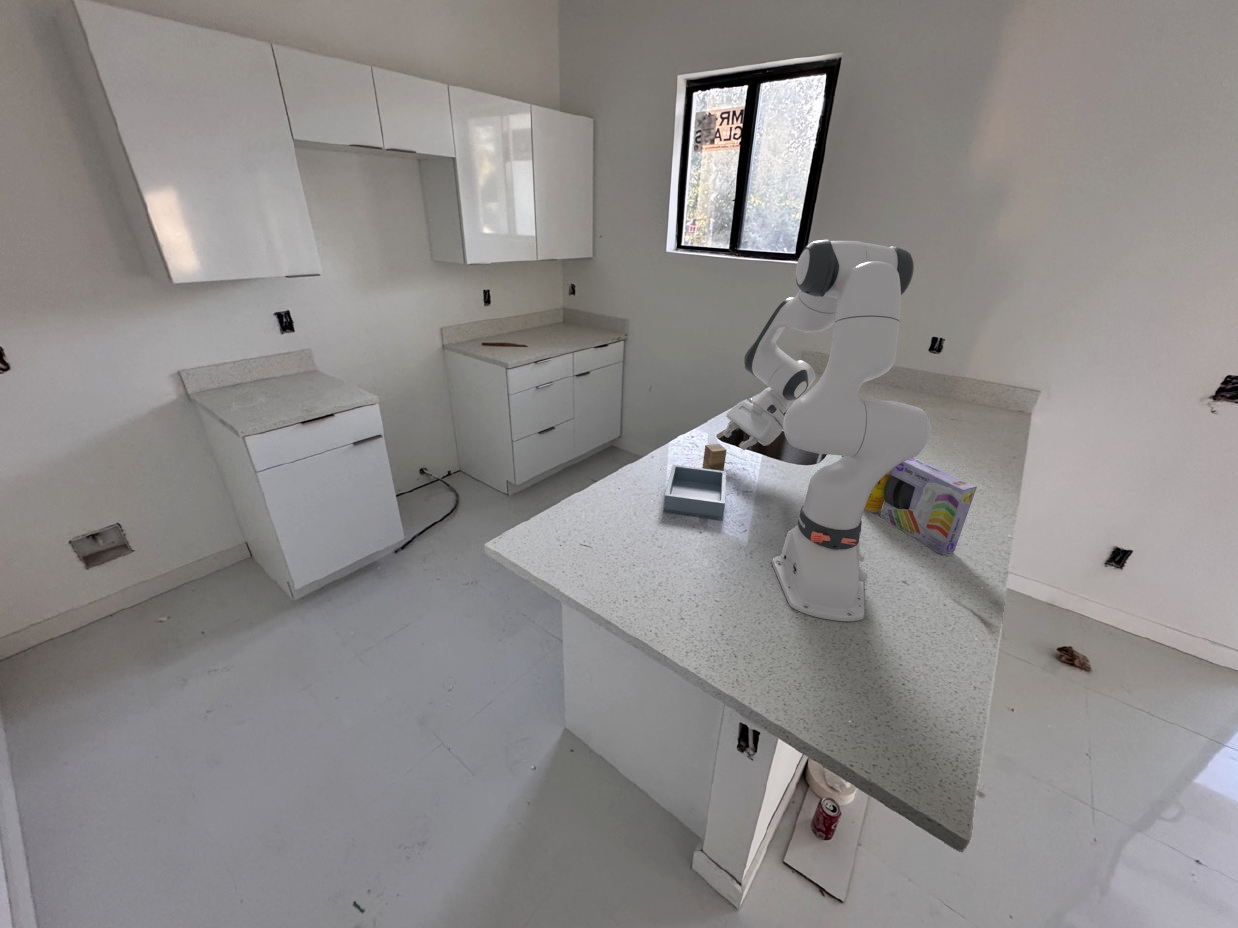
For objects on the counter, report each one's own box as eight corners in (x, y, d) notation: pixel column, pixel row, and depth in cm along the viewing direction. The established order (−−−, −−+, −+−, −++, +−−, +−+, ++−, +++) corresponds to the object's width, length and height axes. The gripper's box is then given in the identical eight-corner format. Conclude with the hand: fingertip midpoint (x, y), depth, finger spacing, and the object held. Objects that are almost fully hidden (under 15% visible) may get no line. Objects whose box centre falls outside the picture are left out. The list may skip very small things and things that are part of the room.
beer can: (855, 509, 132) (870, 459, 125) (857, 499, 137) (871, 450, 130) (880, 516, 130) (897, 464, 123) (881, 505, 134) (897, 456, 128)
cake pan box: (874, 514, 130) (893, 453, 122) (888, 511, 132) (908, 451, 124) (939, 557, 114) (966, 490, 106) (955, 553, 116) (982, 487, 108)
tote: (722, 520, 125) (725, 503, 122) (663, 512, 127) (664, 495, 125) (723, 487, 141) (726, 471, 138) (671, 480, 143) (672, 464, 141)
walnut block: (723, 474, 148) (726, 449, 144) (709, 475, 146) (712, 451, 143) (715, 467, 152) (719, 443, 148) (702, 469, 150) (705, 445, 147)
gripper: (743, 390, 152) (710, 422, 154) (782, 413, 135) (745, 449, 136) (753, 403, 156) (721, 434, 157) (792, 427, 138) (756, 462, 140)
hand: (732, 441), depth 147 cm, fingers open, 8 cm apart
